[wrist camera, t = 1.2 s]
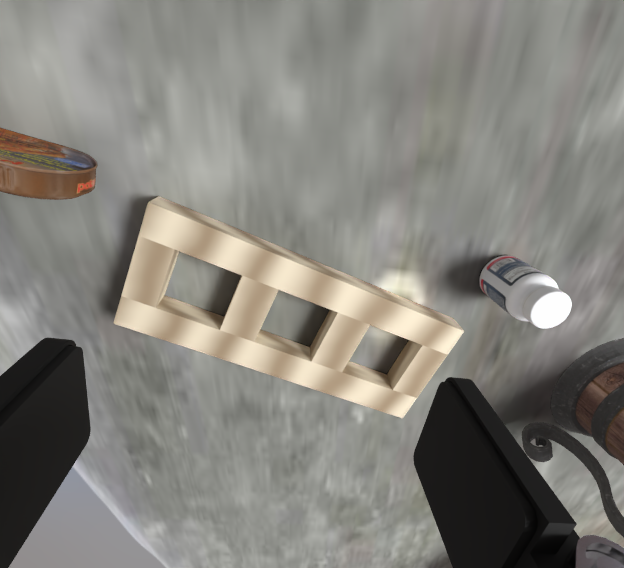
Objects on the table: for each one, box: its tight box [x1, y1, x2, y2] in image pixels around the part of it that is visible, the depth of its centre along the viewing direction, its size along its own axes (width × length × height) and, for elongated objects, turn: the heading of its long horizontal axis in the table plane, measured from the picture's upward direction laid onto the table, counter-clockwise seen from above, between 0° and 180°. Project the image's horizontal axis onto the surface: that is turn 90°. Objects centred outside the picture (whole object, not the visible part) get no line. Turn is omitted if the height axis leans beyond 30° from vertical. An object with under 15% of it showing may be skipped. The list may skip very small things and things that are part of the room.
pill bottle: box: [479, 256, 572, 329], centre depth 38 cm, size 5×5×9 cm
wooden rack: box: [114, 196, 464, 418], centre depth 41 cm, size 36×14×3 cm, turn 65°
